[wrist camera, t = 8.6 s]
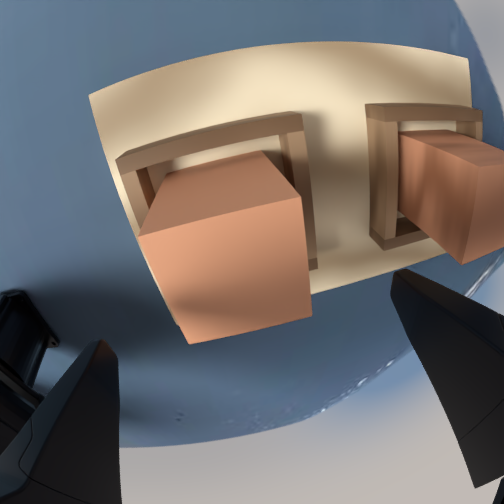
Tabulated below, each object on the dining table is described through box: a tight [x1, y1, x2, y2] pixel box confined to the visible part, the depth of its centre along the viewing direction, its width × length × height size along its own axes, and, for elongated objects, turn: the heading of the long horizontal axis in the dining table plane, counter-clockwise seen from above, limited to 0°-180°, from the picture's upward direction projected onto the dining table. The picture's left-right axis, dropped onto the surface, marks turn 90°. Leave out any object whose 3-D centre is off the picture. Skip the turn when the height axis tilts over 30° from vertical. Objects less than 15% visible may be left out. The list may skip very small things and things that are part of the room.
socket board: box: [89, 42, 504, 325], centre depth 13 cm, size 16×24×8 cm, turn 101°
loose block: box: [138, 150, 312, 344], centre depth 12 cm, size 5×5×7 cm
